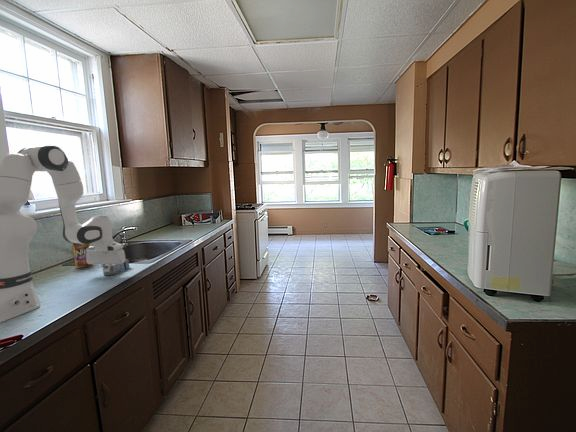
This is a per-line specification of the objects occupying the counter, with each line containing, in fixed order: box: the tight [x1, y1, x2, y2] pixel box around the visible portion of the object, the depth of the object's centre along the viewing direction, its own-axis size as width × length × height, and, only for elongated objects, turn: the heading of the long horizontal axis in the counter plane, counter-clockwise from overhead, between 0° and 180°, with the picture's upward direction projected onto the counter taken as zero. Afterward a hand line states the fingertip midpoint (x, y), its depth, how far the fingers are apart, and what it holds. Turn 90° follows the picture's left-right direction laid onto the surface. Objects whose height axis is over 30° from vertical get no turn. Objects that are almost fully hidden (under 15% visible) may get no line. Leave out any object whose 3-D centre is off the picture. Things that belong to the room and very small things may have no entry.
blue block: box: [119, 263, 126, 273], centre depth 176 cm, size 4×5×6 cm
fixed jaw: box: [124, 258, 130, 270], centre depth 180 cm, size 3×6×5 cm, turn 83°
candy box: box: [72, 243, 94, 270], centre depth 187 cm, size 9×4×15 cm, turn 123°
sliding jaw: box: [102, 264, 120, 276], centre depth 171 cm, size 6×6×5 cm
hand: (107, 271), depth 168 cm, fingers closed, pressing on sliding jaw
